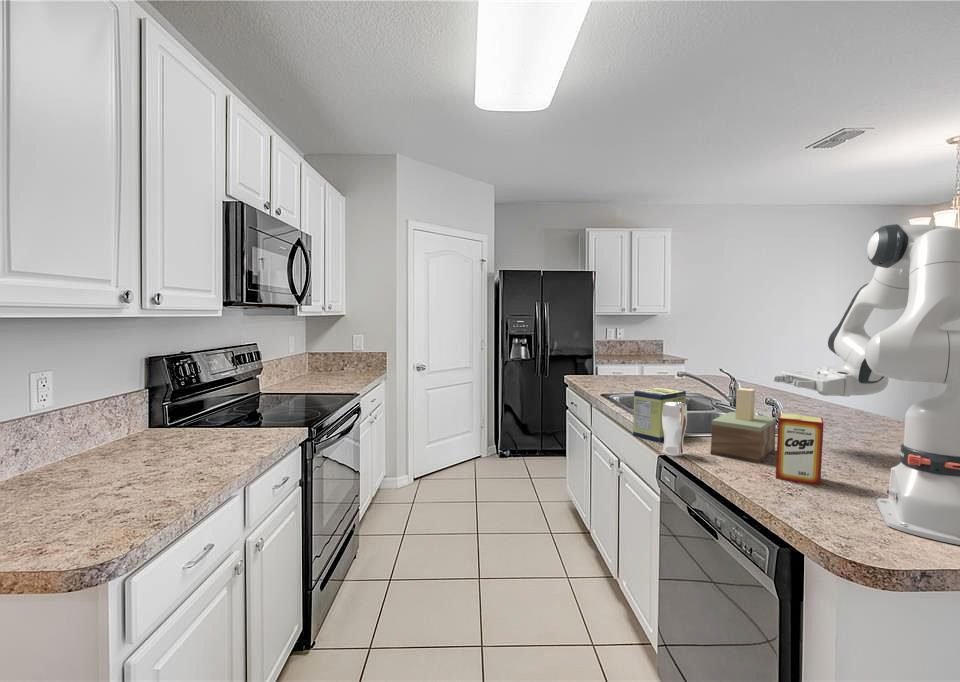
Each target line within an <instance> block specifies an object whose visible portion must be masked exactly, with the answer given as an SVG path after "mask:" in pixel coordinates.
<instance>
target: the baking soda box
mask: <svg viewBox="0 0 960 682" xmlns="http://www.w3.org/2000/svg"><path fill="white" fill-rule="evenodd" d="M777 419H778V420H777V422H778V423H777V439H776V440H777V442H776V444H777V445H776V461H775V464H776V466H775V479H777V480H784V481H791V482H796V483H802V484H803V483H804V484H808V485H809V484H810V485H814V486H815V485H816V486H821V482H822V481H821V480H822V477H821V476H822V463H823V462H822V460H823V458H822V457H823V439H824V424H825V423H824V419H823V417H817V416H808V415H801V414H797V413H796V414H795V413H792V414H791V413H779V414H778V418H777Z"/></svg>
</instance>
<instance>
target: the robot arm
mask: <svg viewBox="0 0 960 682" xmlns="http://www.w3.org/2000/svg"><path fill="white" fill-rule="evenodd" d="M866 252H867V259H868V261H869V262H870V263H871V264H872V265H873V266H876V268H875V270H874V273H873V275H872V278H871V279H870V282H868V283H866V284H863V285H862V286H860V287H859V289H858V290H857V291H856V293H855V294H854V296H853V298H852V299H851V301H850V303H849V305H848V307H847V308H846V310H845V312H844V314H843V316H842V318H841V320H840V321H839V323H838V325H837V326H836V327H835V328H834V330H833V331H832V332H831V333H830V335H829V337H828V340H827V346H828V349H829V350H830V351H831V352H832V353H834V354H835V355H836V356H838V357H839V358H841V359H842V361H844V362H845V365H844V366H820V367H818V368H816V370H815V371H814V372H813V373H811V372H806V371H797V370H796V371H794V370H783V371H780V373H779V375H774V376H773V382H775V383H783V384H787V385H790V386H794V387H796V388H800V389H801V388H803V389H807V390H811V391H816V392H817V393H818V394H820V395H821V396H825V397H831V396H833V397H837V396H838V397H839V396H840V397H851V396H870V395H874V394H878V393H881V392H883V391H884V390H885V389H886V388H887V386H888V384H889V379H894V380H898V381H907V382H918V383H919V382H922V383H935V384H936V383H937V384H944V385H946V388H945V390H944V391H943V392H942V393H940V394H939V395H937V396H935V397H931V398H927V399H924V400H920V401H917V402H915V403H913V404H911V406H909V407H908V409H907V410H906V412H905V415H904V416H905V418H904V433H903V434H904V435H903V443H902V444H900V449H899V461H900V462H899V463H898V464H897V465H895V466H893V467H891V468H890V477H889V487H888V489H887V491H886V493H887V495H888V498H885V497H884V498H877V500H876V505H877V507H878V509H879V511H880V514H881V516H882V518H883V521H884V523H885V524H886V526H888V527H890V528H893V529H895V530H898V531H901V532H903V533H908V534H911V535H915V536H918V537H922V538H926V539H929V540H930V539H931V540H935V541H938V542H944V543H948V544H953V545H958V546H959V545H960V330H957V329H956V330H951V329H942V328H941V327H943V326H944V325H946V324H949V323H952V322H956V321H958V320H960V227H953V226H943V225H932V224H903V225H900V224H895V223H894V224H888V225H882V226H880V227H879V228H878V229H876V230H874V232H873V234H872V235H871V237H870V239H869V240H868V243H867V251H866ZM904 308H905V310H904V311H903V313H902V314H901V315H900V317H899V318H898V319H897V320H896V321H895V322H894V323H893V324H892V325H890V326H888V327H887V328H884V330H880V331H878V332H877V333H876V334H875V335H873V336H872V337H871V336H870V335H869V334H868V333H867V332H866V329H865V325H866V323H867V321H868V319H870V318H869V317H870V316H871V314H872V313H873V310H875V309H878V310H886V311H887V310H888V311H889V310H890V311H891V310H900V309H904Z"/></svg>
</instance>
